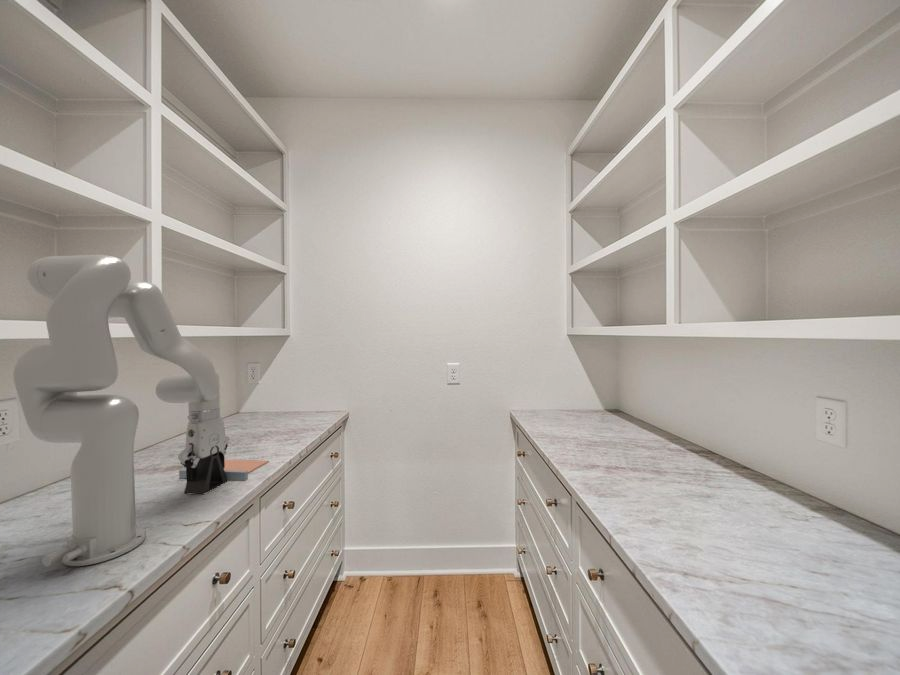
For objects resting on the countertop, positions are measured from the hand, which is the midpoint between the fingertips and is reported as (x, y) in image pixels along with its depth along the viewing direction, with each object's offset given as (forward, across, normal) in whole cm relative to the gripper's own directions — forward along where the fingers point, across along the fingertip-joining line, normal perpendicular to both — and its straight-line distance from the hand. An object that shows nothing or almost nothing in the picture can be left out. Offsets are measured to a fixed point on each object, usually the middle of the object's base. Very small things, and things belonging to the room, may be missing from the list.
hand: (206, 474), depth 107 cm
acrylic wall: (+4, +6, +3) cm, 8 cm away
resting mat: (+4, +15, +3) cm, 16 cm away
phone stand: (+4, 0, 0) cm, 4 cm away
